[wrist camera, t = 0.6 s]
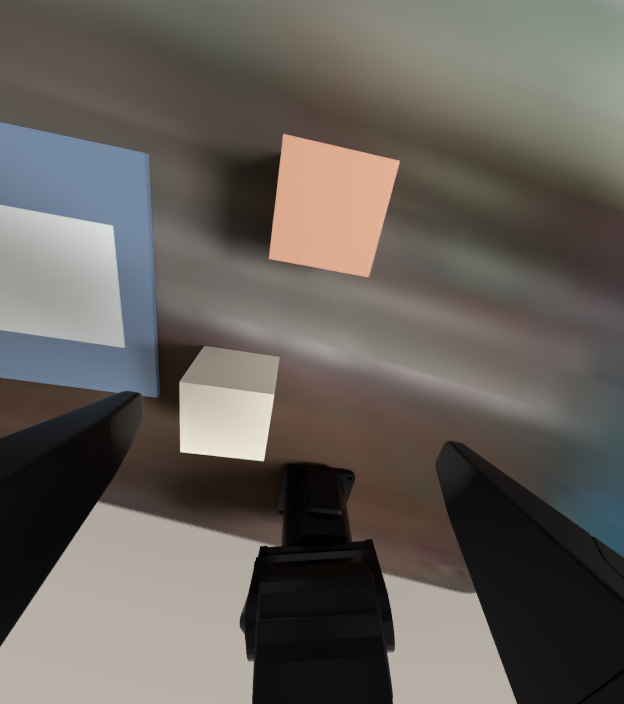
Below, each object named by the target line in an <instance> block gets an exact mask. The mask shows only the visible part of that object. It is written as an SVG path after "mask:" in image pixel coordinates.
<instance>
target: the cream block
mask: <svg viewBox="0 0 624 704" xmlns="http://www.w3.org/2000/svg"><path fill="white" fill-rule="evenodd" d="M279 358H280V357H276V356H269V355H262V354H256V353H249V352H242V351H235V350H229V349H222V348H215V347H209V346H204V347H203V349H202V350H201V351H200V353H199V354H198V356H197V357H196V359H195V360H194V362H193V363H192V364H191V366H190V367H189V369H188V370H187V372H186V373H185V375H184V376H183V377H182V379H181V380H180V382H179V387H180V452H184V453H193V454H202V455H211V456H220V457H229V458H239V459H248V460H257V461H264V457H265V451H266V444H267V438H268V432H269V425H270V419H271V412H272V406H273V399H274V393H275V386H276V379H277V372H278V365H279Z"/></svg>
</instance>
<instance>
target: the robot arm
mask: <svg viewBox="0 0 624 704" xmlns="http://www.w3.org/2000/svg"><path fill="white" fill-rule="evenodd" d="M142 421H143V397H142V394H141V393H139V392H132V391H123V392H120V393H117V394H115V395H112V396H109V397H107V398H104V399H102V400H99V401H96V402H94V403H91V404H89V405H86V406H83V407H81V408H78V409H76V410H73V411H70V412H68V413H65V414H63V415H60V416H57V417H55V418H52V419H50V420H47V421H44V422H42V423H39V424H37V425H34V426H31V427H29V428H26V429H23V430H21V431H18V432H16V433H13V434H10V435H8V436H5V437H3V438H0V646H1V645H2V643H3V642H4V640H5V639H6V637H7V636H8V634H9V633H10V631H11V630H12V628H13V627H14V626H15V624H16V622H17V621H18V619H19V618H20V617H21V615H22V614H23V612H24V611H25V609H26V608H27V606H28V605H29V603H30V602H31V600H32V599H33V597H34V596H35V594H36V593H37V591H38V590H39V588H40V587H41V585H42V584H43V582H44V581H45V579H46V578H47V576H48V575H49V573H50V572H51V570H52V569H53V567H54V566H55V564H56V563H57V561H58V560H59V558H60V557H61V555H62V554H63V552H64V551H65V549H66V548H67V546H68V545H69V543H70V542H71V540H72V539H73V537H74V536H75V534H76V533H77V531H78V530H79V529H80V527H81V525H82V524H83V522H84V521H85V520H86V518H87V517H88V515H89V513H90V512H91V511H92V509H93V508H94V506H95V505H96V503H97V502H98V500H99V499H100V497H101V496H102V494H103V493H104V491H105V490H106V488H107V487H108V485H109V484H110V482H111V481H112V479H113V477H114V476H115V474H116V472H117V470H118V469H119V467H120V465H121V463H122V461H123V459H124V457H125V455H126V454H127V452H128V450H129V448H130V446H131V444H132V442H133V440H134V438H135V436H136V434H137V432H138V431H139V429H140V427H141V424H142ZM289 470H292V471H289ZM436 471H437V474H438V478H439V482H440V486H441V490H442V493H443V497H444V501H445V505H446V509H447V512H448V515H449V519H450V522H451V524H452V527H453V530H454V533H455V535H456V538H457V541H458V544H459V546H460V549H461V552H462V555H463V557H464V560H465V563H466V565H467V568H468V571H469V574H470V576H471V579H472V582H473V585H474V587H475V590H476V593H477V596H478V598H479V601H480V604H481V606H482V609H483V612H484V614H485V617H486V620H487V623H488V626H489V628H490V631H491V634H492V636H493V639H494V642H495V645H496V647H497V650H498V653H499V656H500V658H501V661H502V664H503V666H504V669H505V672H506V675H507V677H508V680H509V683H510V686H511V688H512V691H513V693H514V696H515V699H516V702H517V704H624V558H623V557H622V556H620V555H619V554H618V553H616V552H615V551H613V550H612V549H610V548H609V547H608V546H606V545H605V544H603V543H602V542H601V541H599V540H598V539H596V538H595V537H593V536H591V535H590V534H589V533H588V532H586V531H585V530H584V529H582V528H581V527H579V526H578V525H577V524H575V523H574V522H572V521H571V520H570V519H568V518H567V517H565V516H564V515H563V514H561V513H560V512H558V511H557V510H555V509H554V508H553V507H551V506H550V505H548V504H547V503H546V502H544V501H543V500H541V499H540V498H539V497H537V496H536V495H534V494H533V493H532V492H530V491H529V490H527V489H526V488H525V487H523V486H522V485H520V484H519V483H518V482H516V481H515V480H513V479H512V478H510V477H509V476H508V475H506V474H505V473H503V472H502V471H501V470H499V469H498V468H496V467H495V466H494V465H492V464H491V463H489V462H488V461H487V460H485V459H484V458H482V457H481V456H480V455H478V454H477V453H475V452H474V451H472V450H471V449H470V448H468V447H467V446H465V445H464V444H463V443H461V442H455V441H447V442H446V443H445V444H444V446H443V448H442V450H441V452H440V454H439V456H438V458H437V460H436ZM354 481H355V474H354V473H353V472H351V471H344V470H335V469H326V468H317V467H308V466H298V465H287V466H286V467H285V470H284V475H283V480H282V485H281V490H280V495H279V500H278V505H277V514H278V515H281V516H283V530H282V546H279V547H268V546H260V550H259V555H258V557H257V558H256V561H255V563H254V570H253V575H252V580H251V584H250V589H249V593H248V597H247V599H246V602H245V605H244V608H243V611H242V614H241V617H240V628H241V630H242V631H243V633H244V634H245V640H246V653H247V659H248V661H254V674H253V675H254V676H253V696H252V704H393V701H392V699H393V692H392V684H391V677H390V670H389V663H388V657H387V652H394V649H395V639H394V628H393V620H392V614H391V608H390V603H389V598H388V593H387V590H386V586H385V582H384V579H383V575H382V572H381V568H380V565H379V561H378V558H377V555H376V551H375V548H374V544H373V541H372V539H367V540H365V541H357V542H352V538H351V531H350V525H349V518H348V511H347V505H346V504H347V501H348V498H349V495H350V492H351V489H352V486H353V484H354Z"/></svg>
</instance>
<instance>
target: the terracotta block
mask: <svg viewBox="0 0 624 704" xmlns="http://www.w3.org/2000/svg"><path fill="white" fill-rule="evenodd" d="M399 162H400V161H398V160H394V159H389V158H385V157H381V156H376V155H372V154H368V153H363V152H359V151H355V150H350V149H346V148H342V147H338V146H333V145H329V144H325V143H320V142H316V141H312V140H307V139H303V138H299V137H294V136H290V135H286V134H283V142H282V150H281V159H280V167H279V176H278V184H277V193H276V201H275V210H274V218H273V227H272V235H271V244H270V253H269V259H272V260H278V261H283V262H289V263H294V264H299V265H305V266H310V267H316V268H321V269H326V270H332V271H337V272H343V273H348V274H354V275H359V276H364V277H369V275H370V271H371V267H372V263H373V260H374V256H375V252H376V248H377V245H378V241H379V237H380V233H381V230H382V226H383V222H384V219H385V215H386V211H387V207H388V204H389V200H390V196H391V192H392V189H393V185H394V181H395V177H396V174H397V170H398V166H399Z"/></svg>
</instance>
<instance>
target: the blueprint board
mask: <svg viewBox="0 0 624 704" xmlns="http://www.w3.org/2000/svg"><path fill="white" fill-rule="evenodd" d="M0 378H7V379H15V380H23V381H31V382H38V383H46V384H54V385H62V386H70V387H77V388H85V389H93V390H101V391H109V392H116V393H120V392H123V391H132V392H139V393H141V394H142V396H147V397H155V398H157V397H158V396H159V395H160V382H159V360H158V339H157V317H156V295H155V274H154V252H153V230H152V209H151V187H150V166H149V154H146V153H142V152H138V151H133V150H128V149H124V148H119V147H114V146H110V145H105V144H100V143H96V142H91V141H86V140H81V139H77V138H72V137H67V136H63V135H58V134H53V133H49V132H44V131H39V130H35V129H30V128H25V127H21V126H16V125H11V124H7V123H2V122H0Z"/></svg>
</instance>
